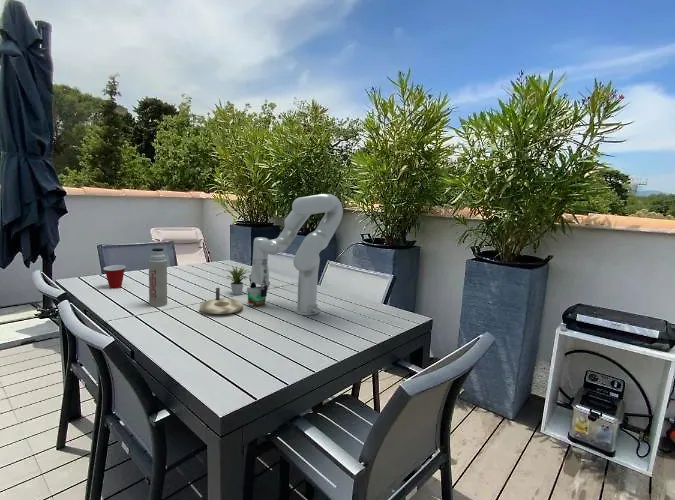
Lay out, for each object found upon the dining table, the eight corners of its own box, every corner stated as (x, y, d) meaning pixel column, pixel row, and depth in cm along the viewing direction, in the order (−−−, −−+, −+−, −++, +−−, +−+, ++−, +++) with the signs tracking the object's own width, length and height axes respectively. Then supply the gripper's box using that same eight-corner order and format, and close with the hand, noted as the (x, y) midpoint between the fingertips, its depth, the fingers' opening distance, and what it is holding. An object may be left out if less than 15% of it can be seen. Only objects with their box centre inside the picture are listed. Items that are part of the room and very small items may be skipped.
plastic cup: (99, 288, 202) (98, 267, 200) (115, 284, 212) (115, 264, 210) (114, 290, 198) (113, 269, 197) (130, 286, 209) (130, 266, 207)
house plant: (246, 298, 198) (246, 269, 196) (220, 296, 199) (221, 267, 196) (252, 291, 213) (253, 264, 210) (229, 290, 213) (229, 263, 211)
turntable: (236, 302, 190) (236, 285, 189) (248, 313, 173) (248, 295, 172) (196, 306, 179) (196, 289, 178) (204, 318, 163) (204, 299, 161)
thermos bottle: (156, 307, 174) (155, 250, 170) (145, 304, 178) (144, 248, 174) (170, 304, 181) (170, 248, 177) (160, 301, 185) (159, 247, 181)
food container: (254, 309, 180) (254, 289, 179) (246, 306, 184) (246, 287, 183) (272, 304, 190) (273, 286, 189) (264, 302, 194) (265, 283, 192)
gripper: (276, 264, 181) (274, 297, 183) (256, 258, 193) (255, 289, 195) (263, 265, 175) (261, 299, 178) (244, 259, 187) (242, 291, 190)
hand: (258, 294), depth 187 cm, fingers open, 9 cm apart
